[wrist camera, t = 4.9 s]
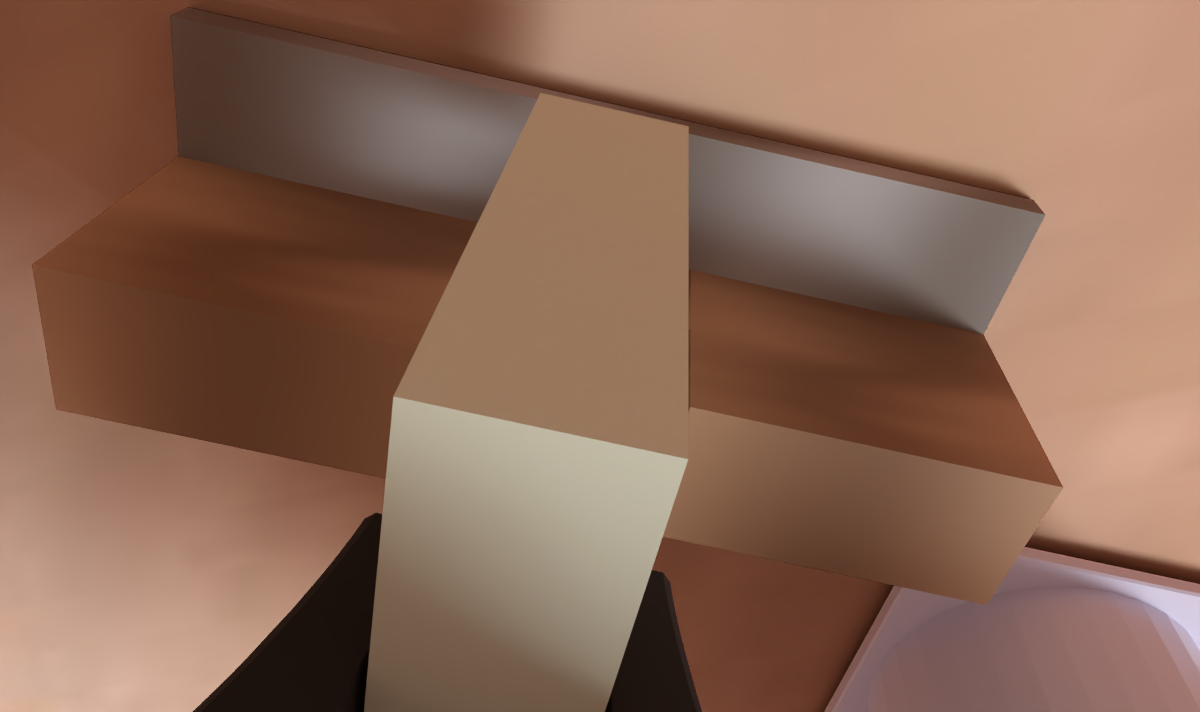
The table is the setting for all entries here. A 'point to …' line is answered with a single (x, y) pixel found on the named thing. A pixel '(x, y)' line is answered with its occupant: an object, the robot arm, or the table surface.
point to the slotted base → (436, 243)
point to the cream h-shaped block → (540, 428)
